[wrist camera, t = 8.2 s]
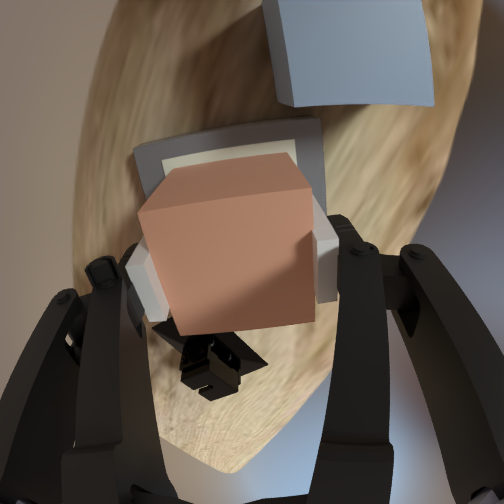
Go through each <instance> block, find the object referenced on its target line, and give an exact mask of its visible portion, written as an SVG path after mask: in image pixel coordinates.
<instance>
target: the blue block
mask: <svg viewBox="0 0 504 504" xmlns="http://www.w3.org/2000/svg"><path fill="white" fill-rule="evenodd" d="M262 9H263V15H264V20H265V26H266V32H267V38H268V44H269V50H270V56H271V62H272V69H273V76H274V82H275V89H276V96H277V102H279V103H282V104H285V105H289V106H292V107H306V106H321V105H343V104H395V105H416V106H430V107H434V89H433V75H432V65H431V56H430V48H429V41H428V34H427V28H426V23H425V17H424V12H423V7H422V3H421V0H263V1H262Z"/></svg>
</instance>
